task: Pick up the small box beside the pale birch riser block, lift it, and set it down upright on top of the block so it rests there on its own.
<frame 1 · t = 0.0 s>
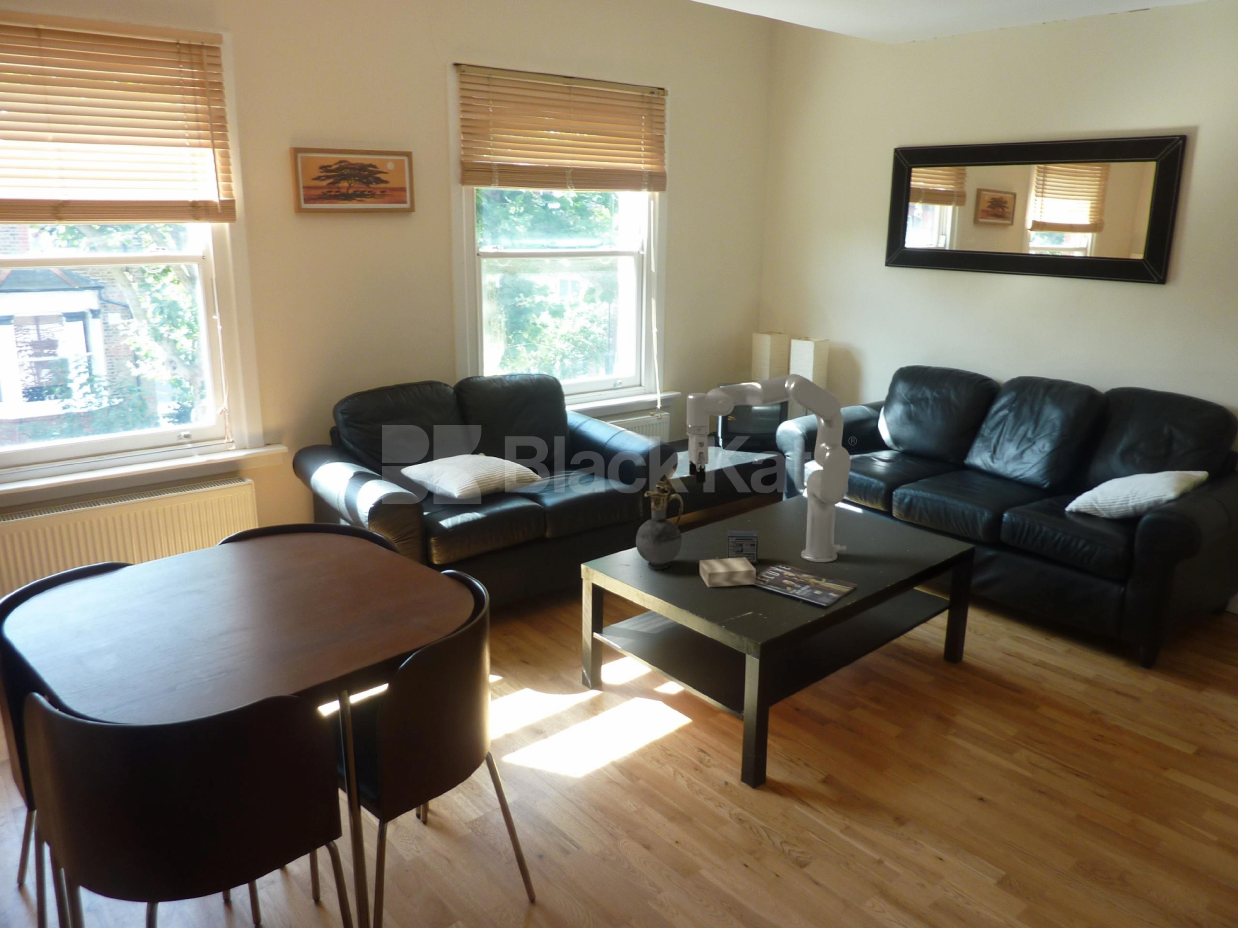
hand: (697, 478, 321), 31 cm above the table, tool pointing down, fingers open, 9 cm apart
small box: (742, 561, 333), on the table
pitcher: (662, 565, 330), on the table
birch riser: (727, 578, 316), on the table
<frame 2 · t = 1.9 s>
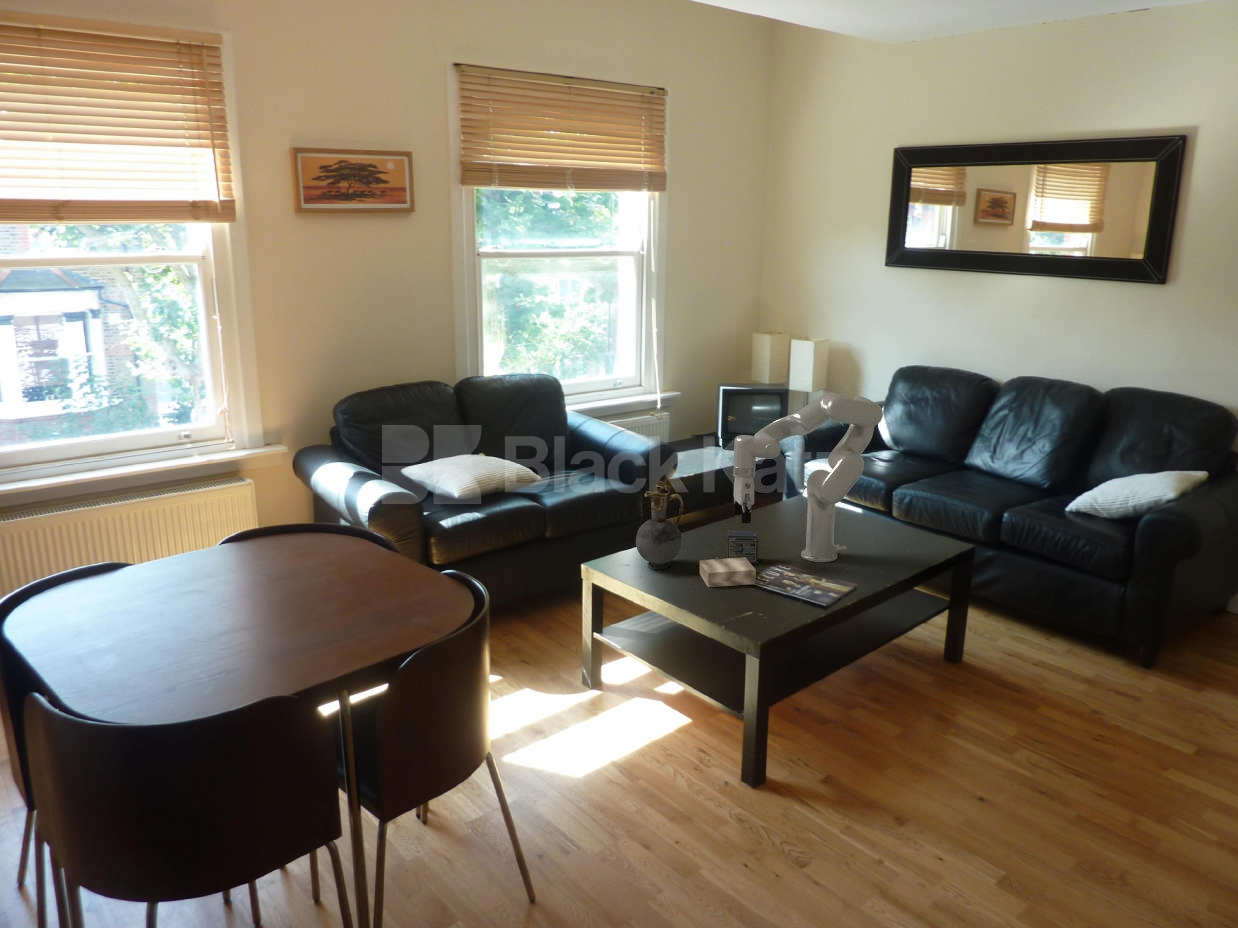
hand: (741, 518, 329), 16 cm above the table, tool pointing down, fingers open, 9 cm apart
nothing on the table moved.
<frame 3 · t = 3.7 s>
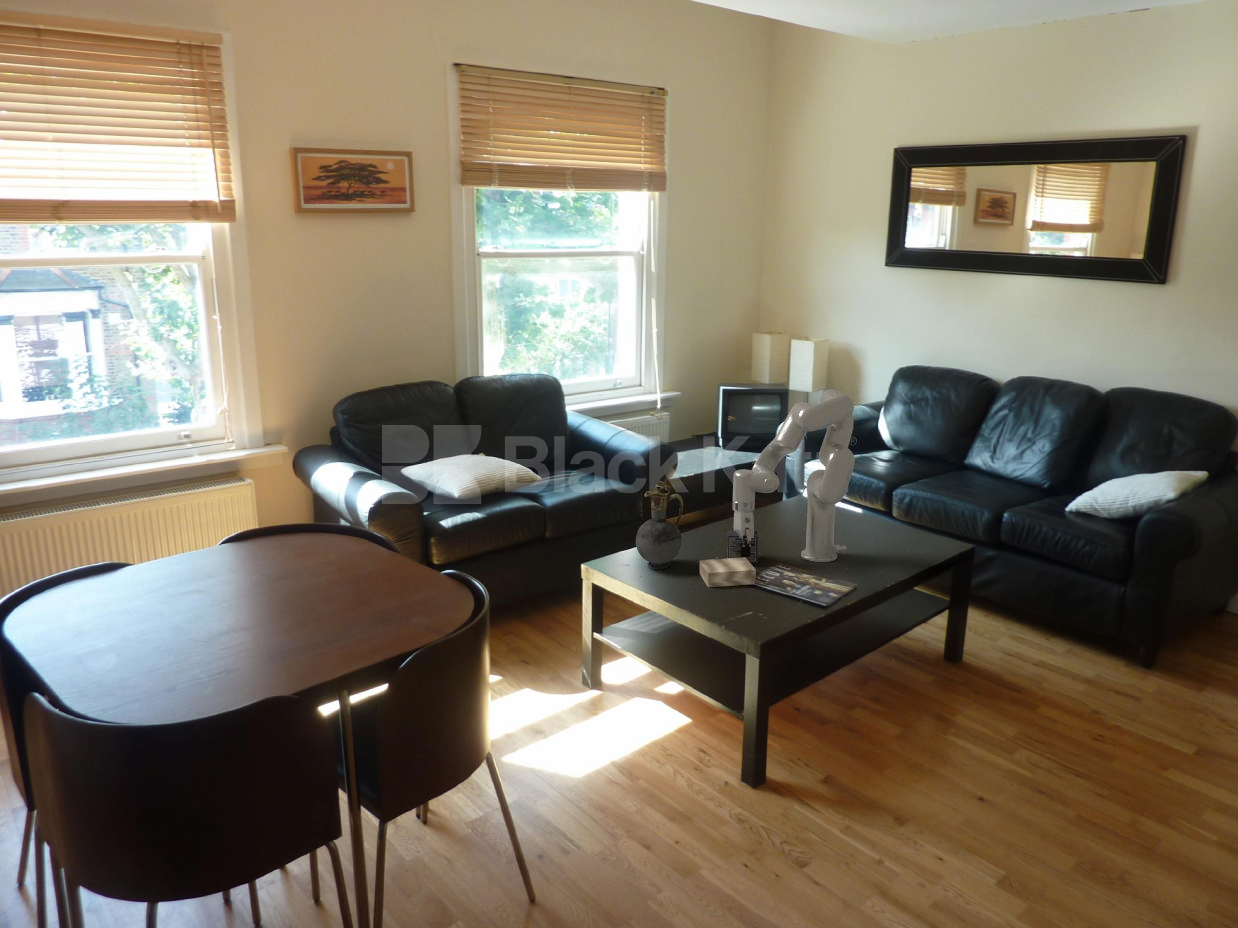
hand: (742, 552, 332), 3 cm above the table, tool pointing down, fingers closed on small box, 7 cm apart
small box: (742, 561, 333), on the table, touching gripper
everything else where it was.
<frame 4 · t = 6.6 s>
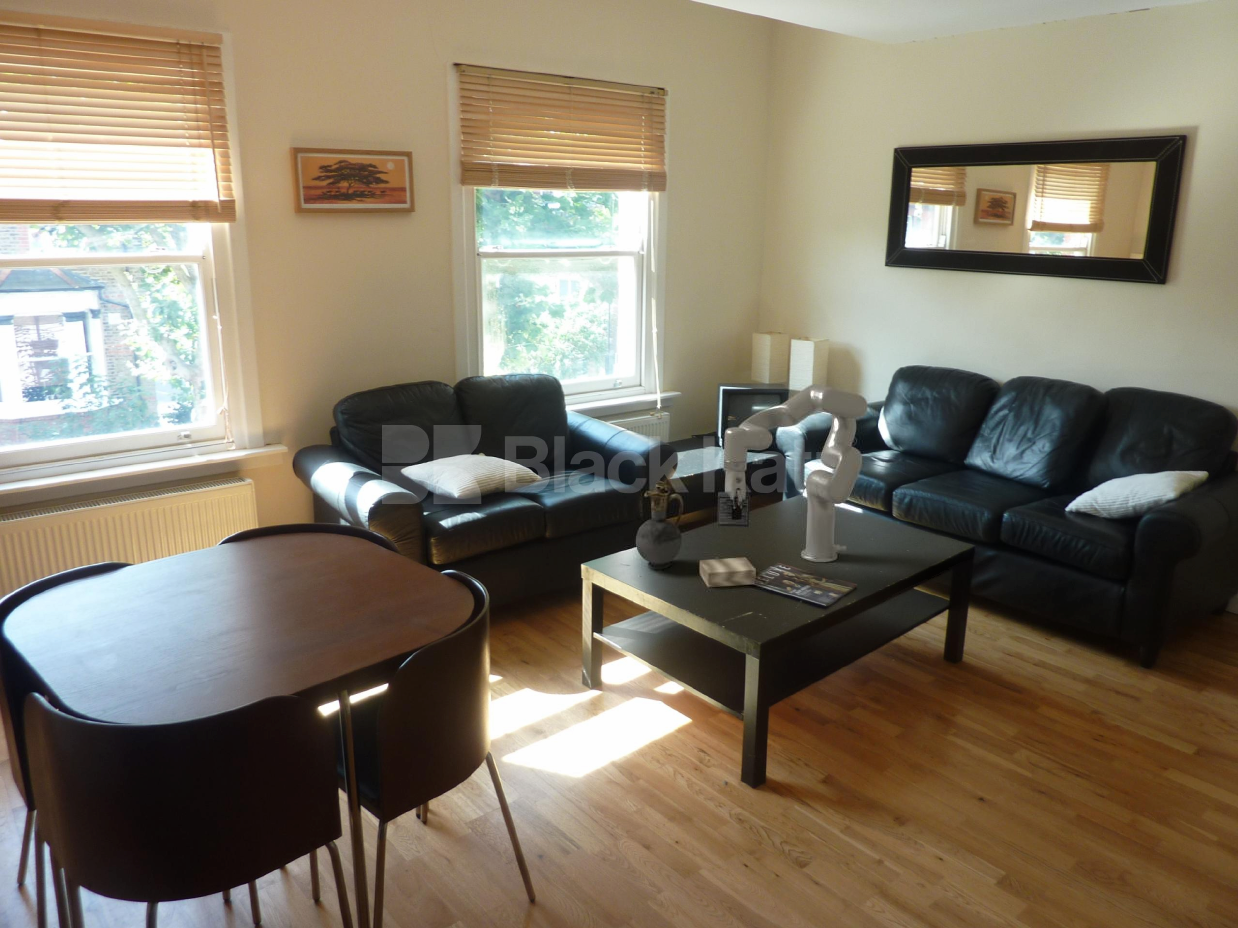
hand: (733, 515, 317), 20 cm above the table, tool pointing down, fingers closed on small box, 7 cm apart
small box: (733, 524, 318), point 17 cm above the table, touching gripper
everything else where it was.
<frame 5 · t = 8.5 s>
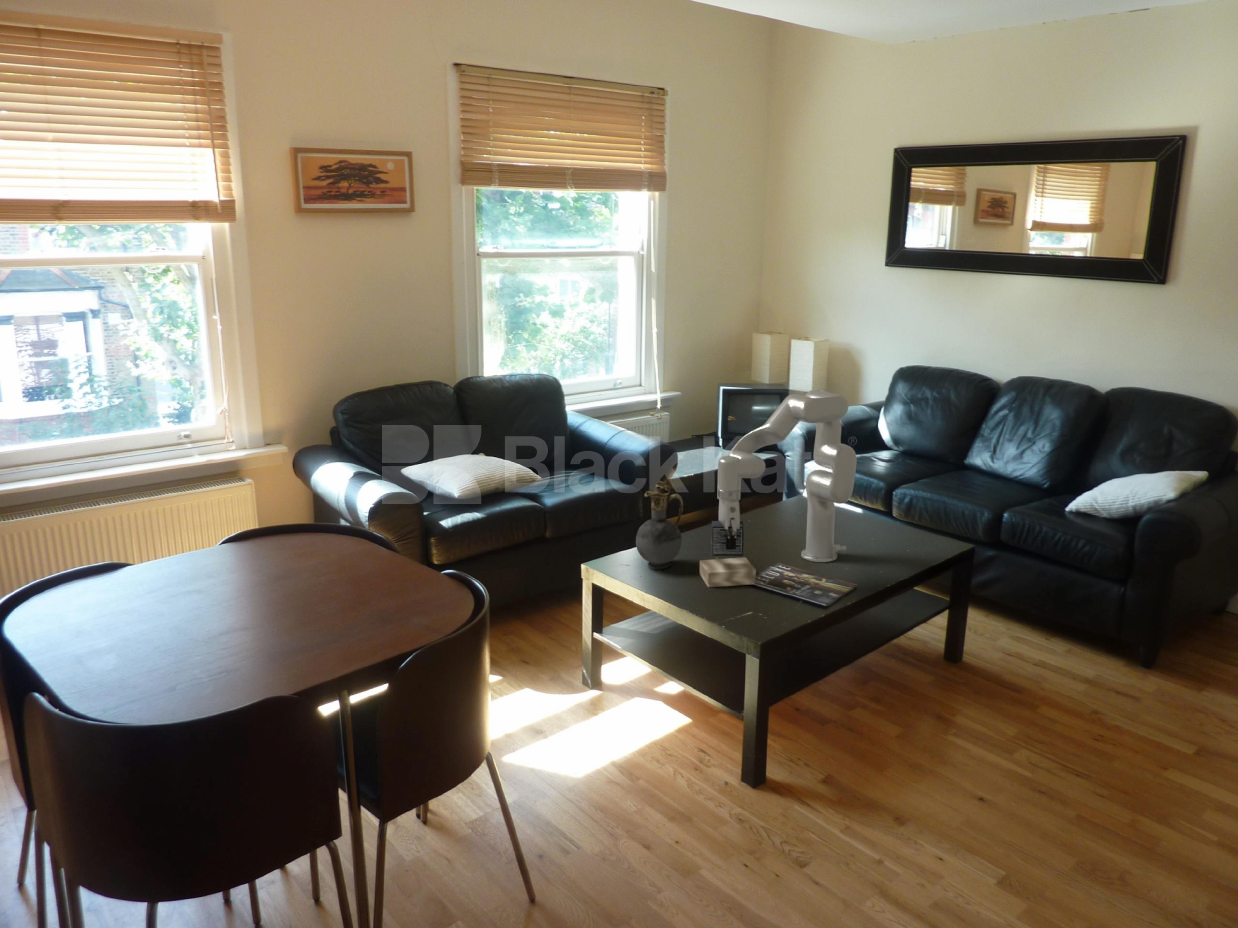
hand: (727, 544, 313), 12 cm above the table, tool pointing down, fingers closed on small box, 7 cm apart
small box: (727, 553, 314), point 9 cm above the table, touching gripper
everything else where it was.
when the fingers open (9 cm above the table, at t = 10.0 s): small box drops 1 cm, resting on birch riser.
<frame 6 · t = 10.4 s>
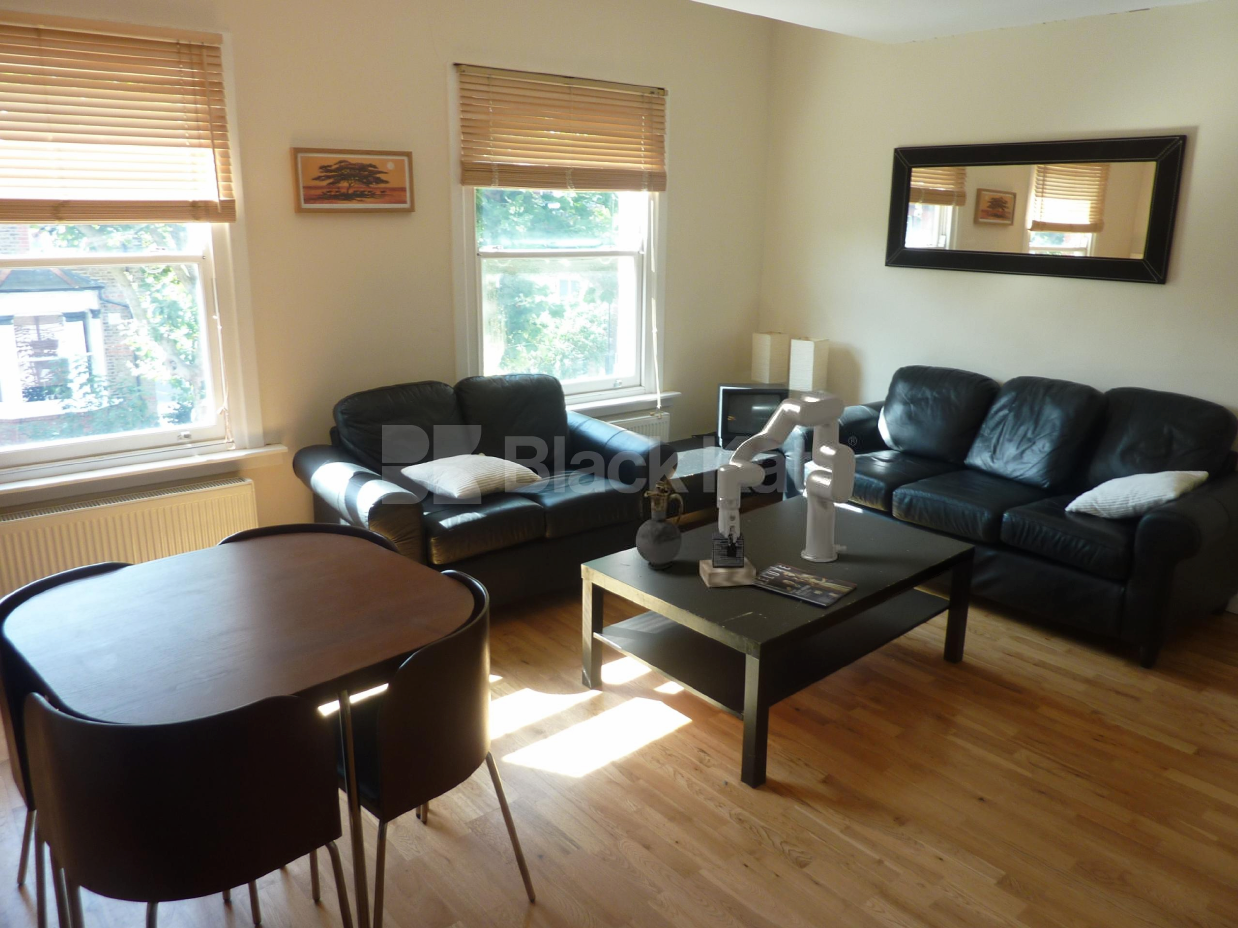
hand: (727, 551, 313), 10 cm above the table, tool pointing down, fingers open, 9 cm apart
small box: (727, 565, 315), point 5 cm above the table, touching birch riser
everything else where it was.
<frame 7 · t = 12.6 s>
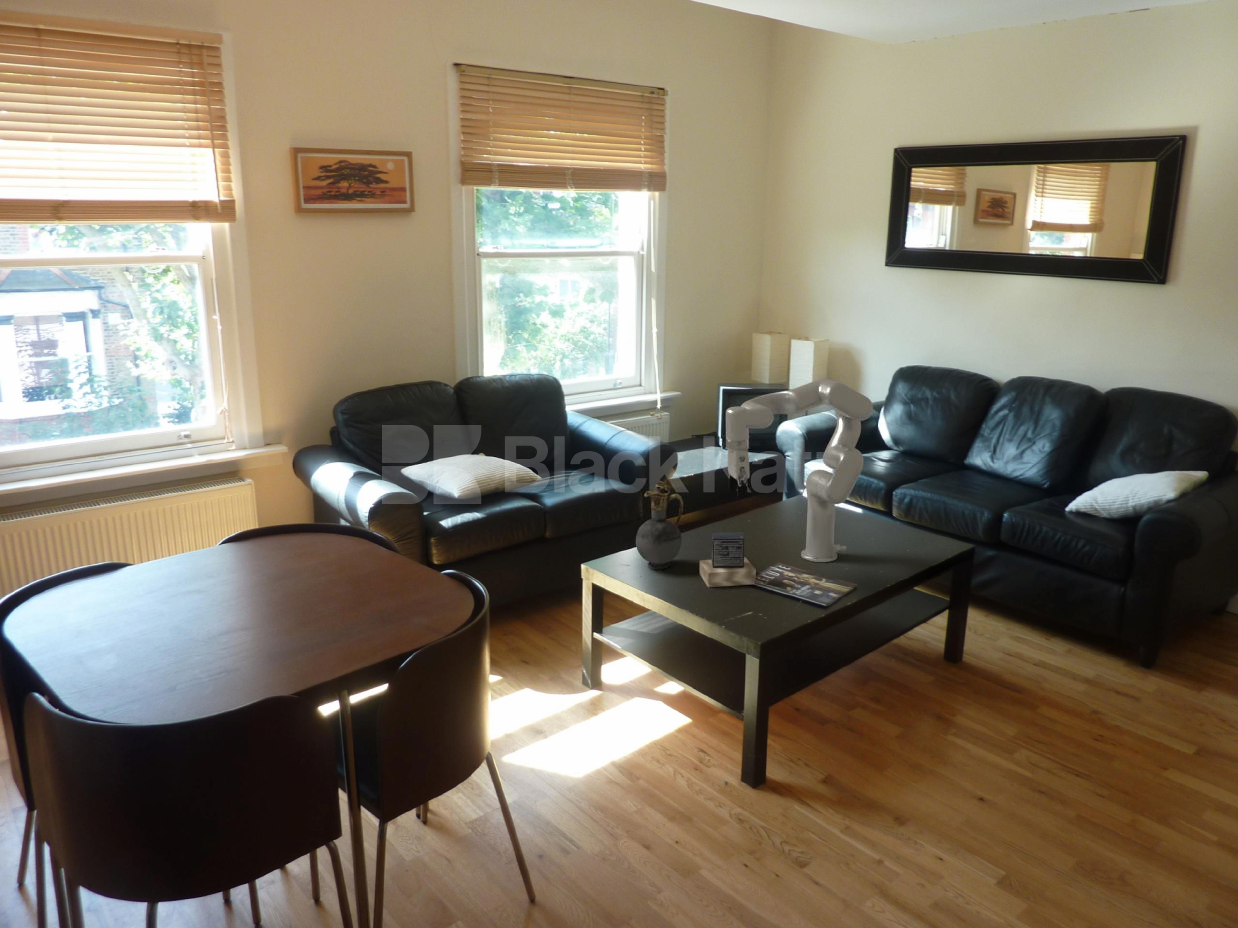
hand: (737, 493, 318), 27 cm above the table, tool pointing down, fingers open, 9 cm apart
nothing on the table moved.
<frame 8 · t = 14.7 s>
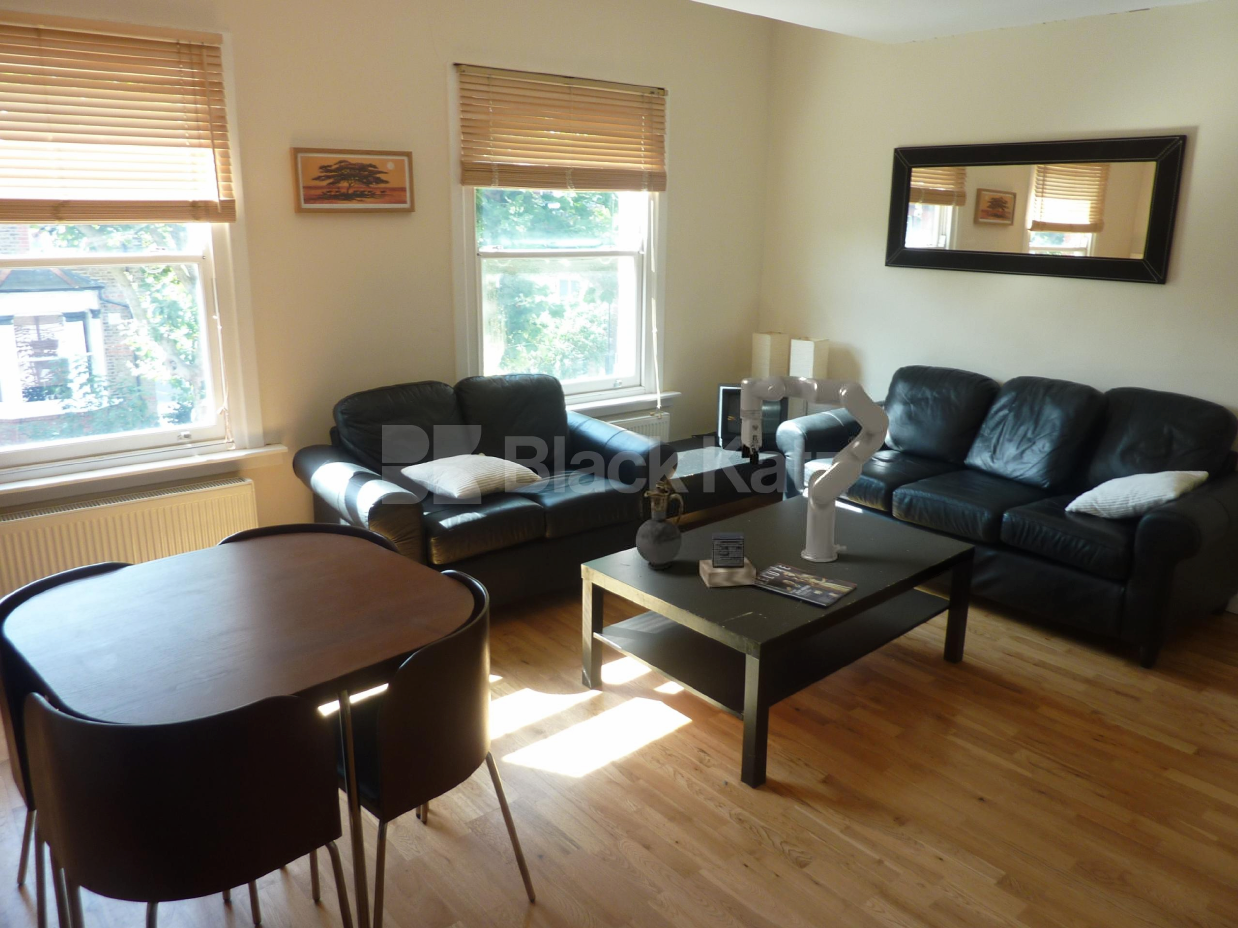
hand: (749, 461, 331), 34 cm above the table, tool pointing down, fingers open, 9 cm apart
nothing on the table moved.
at the end: small box inside the target area on the birch riser (0.3 cm from its centre), point 4.8 cm above the birch riser's base; small box tilted 0°; the gripper is holding nothing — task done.
